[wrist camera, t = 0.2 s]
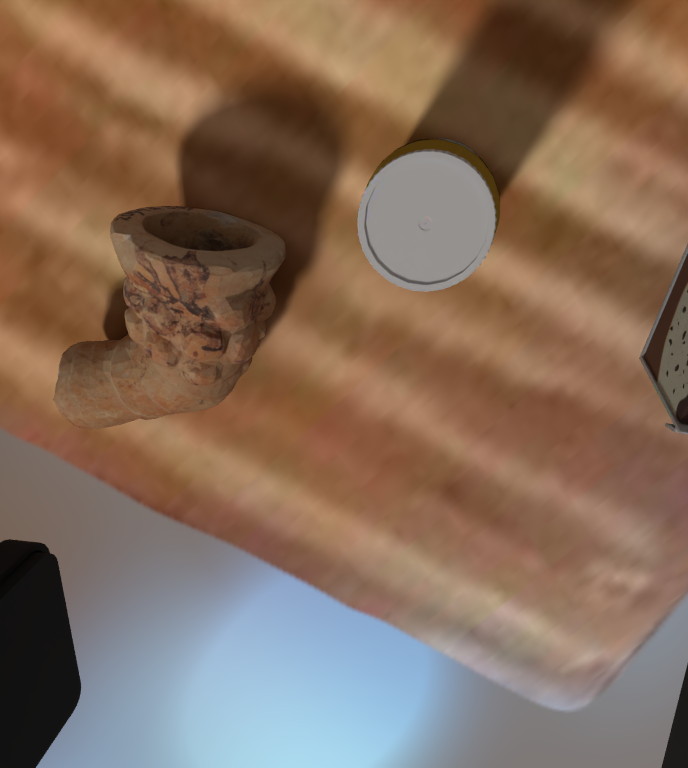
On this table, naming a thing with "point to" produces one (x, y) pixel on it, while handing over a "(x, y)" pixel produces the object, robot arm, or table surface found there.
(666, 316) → the food container
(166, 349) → the clay pipe
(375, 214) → the bottle
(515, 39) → the table surface
